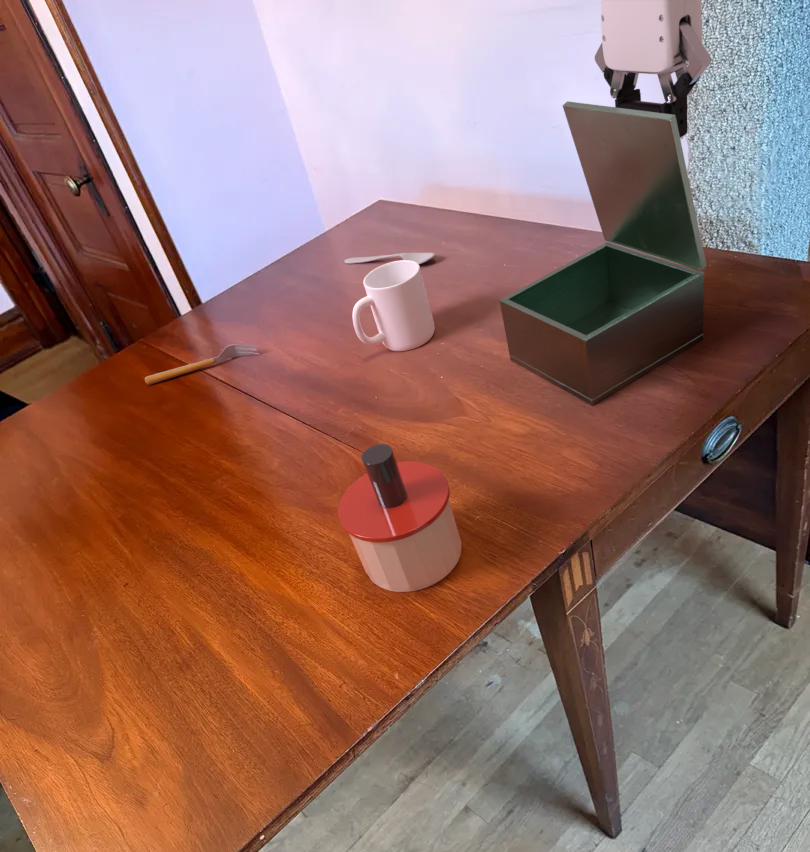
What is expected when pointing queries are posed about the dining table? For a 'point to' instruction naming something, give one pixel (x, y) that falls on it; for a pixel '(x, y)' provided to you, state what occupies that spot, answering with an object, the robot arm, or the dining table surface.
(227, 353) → the fork
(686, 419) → the dining table surface
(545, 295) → the open box
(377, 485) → the pot lid
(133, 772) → the dining table surface
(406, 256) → the spoon
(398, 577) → the pot
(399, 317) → the cup
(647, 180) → the box lid
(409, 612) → the dining table surface
